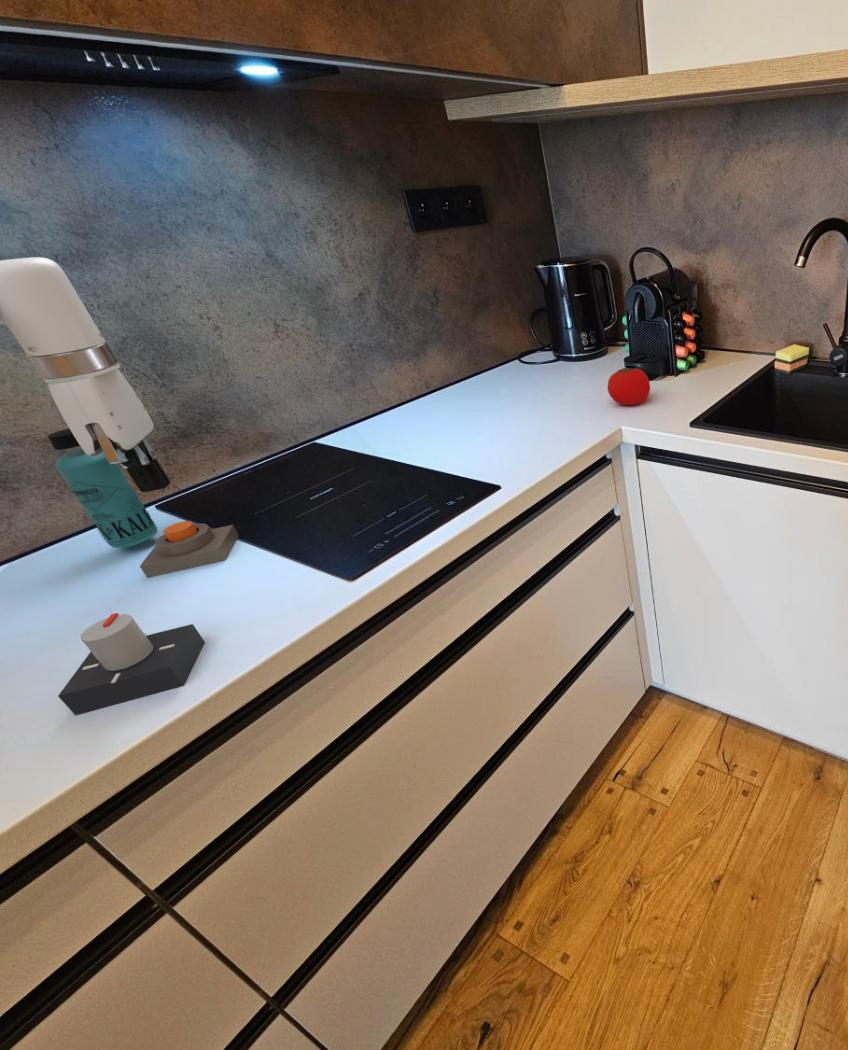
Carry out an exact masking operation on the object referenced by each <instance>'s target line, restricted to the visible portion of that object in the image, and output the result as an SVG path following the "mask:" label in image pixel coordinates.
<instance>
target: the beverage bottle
mask: <svg viewBox="0 0 848 1050" xmlns="http://www.w3.org/2000/svg"><path fill="white" fill-rule="evenodd" d="M47 438H48V440H49V441H50V443H51V446H52V447H53V449H54V450H55V451H61V450H62V451H63V450H68V449H73V448H77V447H81V446H80V445H79V443H78V441H77V440H76V438H75V437H74V435H73V433H72V432H71V430H70V428H69V427H68V428H64V429H60V430H57V431H54V432H52V433H50V434H48V435H47ZM54 468H55V469H56V470H57V471H58V472H59V474H60V475H61V477H62V478H63V479H64V481H65V483H66V484H67V486H68V487H69V491H71V493H72V494H73V496H74V498H75V499H76V500H77V502H78V503H79V504H80V505H81V507H82V508H83V511H84V512H85V513H86V516H88V517H89V518H90V519H91V522H92V525H93V526H94V528H95V529H96V530H97V531H98V534H99V535H100V536H101V538H102V539H103V540H104V542H105V543H106V544H107V545H108V546H110V547H111V548H114V549H124V548H129V547H133V546H136V545H139V544H141V543H145V542H146V541H149V540H150V539H152V538H154V537H155V536H156V535H157V534H158V526H157V524H156V523H155V521H154V518H152V516H151V514H150V512H149V511H148V510H147V508H146V507H147V506H145V504H144V503H143V502H142V501H141V498H140V496H138V494H137V492H136V490H135V489H133V487H132V486H131V484H130V483H129V481H128V480H127V478H126V476H125V475H124V473H123V471H122V470H121V467H119V465H118V463H117V464H110V463H109V462H108V460H107V458H106V456H105V454H104V452H102V453H100V454H99V455H97V456H89V455H87V454H86V453H85V452H84V450H83V449H82V448H77V449H74V450H70V451H68V452H66V453H63V454H61V455H60V456H59V457H58V458H57V460H56V462H55V467H54Z"/></svg>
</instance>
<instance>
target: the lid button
mask: <svg viewBox="0 0 848 1050" xmlns="http://www.w3.org/2000/svg"><path fill="white" fill-rule="evenodd" d="M194 524H195V523H193V521H191V520H185V521H184V520H183V521H180V522H176V523H173V524H170V525H168V526H167V527H166V528H164V529H163V531H162V533H163V535H164V534H165V536H166V537H167V539H168V540H169V542H176V541H181V540H184V539H187V538H189V537H192V536H193V535H195V534H196V533H198V531H197V529H196V528H195V526H194Z"/></svg>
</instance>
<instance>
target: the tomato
mask: <svg viewBox="0 0 848 1050" xmlns="http://www.w3.org/2000/svg"><path fill="white" fill-rule="evenodd" d="M606 389H607V393H608V394H609V396H610V397H611V399H612V400H613V401H614V402H615V403H617V404H619V405H624V406H625V405H626V406H635V405H638V404H640V403H641V404H642V402H643V403H644V401H645V400H647V398H648V397H649V395H650V391H651V384H650V379H649V377H648V375H647V374H646V372H644V370H643V369H641V368H636V367H634V368H630V367H623V368H621V369H618V370H617V371H616V372H614V373H612V375H610V376H609V378H608V381H607V388H606Z"/></svg>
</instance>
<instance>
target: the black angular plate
mask: <svg viewBox="0 0 848 1050" xmlns="http://www.w3.org/2000/svg"><path fill="white" fill-rule="evenodd" d="M143 633H144V632H143ZM144 634H145V635H146V637H147V638H148V639H149V641H150V642H151V644H152V645H153V651H152V652H151V654H150V655H149V656H147V657H146V658H145V659H143V660H142V661H140V662H139V663H137V664H135V665H133V666H130V667H128V668H125V669H121V670H116V671H109V670H106V669H105V668H104V667H103V666H102V664H101V663H100V662H99V661H98V660H97V658H96V657H95V656H94V655H93V653H92V652H91V651H90V652H89V653H88V654H87V656H86V657H85V658H84V660H83V661H82V662H81V664H80V665H79V666H78V668H77V669H76V670H75V672H74V674H73V675H71V678H70V679H69V680H68V682H67V683H66V684H65V686H64V687H63V689H62V690H61V691H60V692H59V694H58V696H57V697H58V698H59V699H60V700H61V702H63V703H64V705H65V706H66V707H67V708H68V709H69V710H70V711H71V712H72V714H73V715H74V716H78V715H81V714H86V713H88V712H92V711H96V710H100V709H104V708H106V707H111V706H114V705H117V704H118V705H119V704H122V703H126V702H128V701H132V700H137V699H140V698H142V697H147V696H150V695H154V694H158V693H162V692H165V691H169V690H172V689H176V688H180V687H184V685H185V683H186V681H187V679H188V677H189V675H190V673H191V671H192V669H193V667H194V665H195V663H196V661H197V659H198V657H199V655H200V653H201V651H202V649H203V647H204V645H205V642H206V641H205V640H204V638H203V637H202V636H201V634H200V632H199V631H198V629H197V628H196V627H195V625H194V624H193V623H190V624H187V625H182V626H178V627H175V628H171V629H167V630H162V631H159V632H155V633H151V634H147V633H146V632H145V633H144Z"/></svg>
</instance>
